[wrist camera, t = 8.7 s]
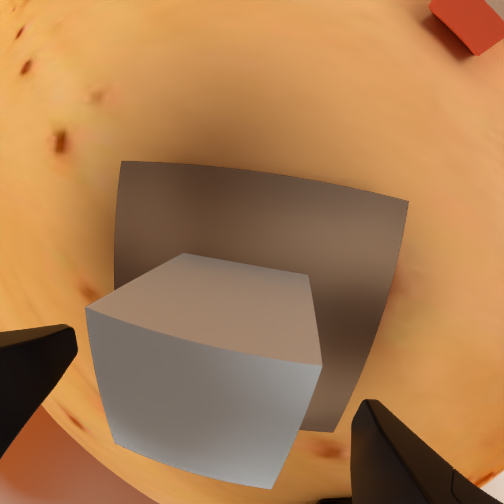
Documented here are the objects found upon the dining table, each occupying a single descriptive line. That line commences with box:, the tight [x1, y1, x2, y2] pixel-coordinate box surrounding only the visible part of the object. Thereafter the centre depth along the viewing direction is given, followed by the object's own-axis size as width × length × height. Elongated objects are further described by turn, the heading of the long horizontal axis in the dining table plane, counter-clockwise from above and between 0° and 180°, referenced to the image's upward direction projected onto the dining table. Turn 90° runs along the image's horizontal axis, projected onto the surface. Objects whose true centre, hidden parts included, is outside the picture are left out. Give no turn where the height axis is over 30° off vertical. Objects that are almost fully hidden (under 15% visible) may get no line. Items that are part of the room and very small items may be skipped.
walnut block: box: [114, 161, 409, 432], centre depth 13 cm, size 12×12×4 cm
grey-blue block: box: [85, 253, 323, 489], centre depth 8 cm, size 5×5×6 cm
